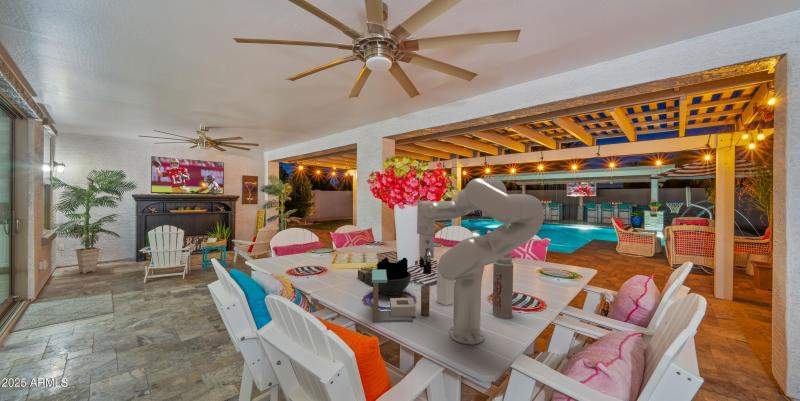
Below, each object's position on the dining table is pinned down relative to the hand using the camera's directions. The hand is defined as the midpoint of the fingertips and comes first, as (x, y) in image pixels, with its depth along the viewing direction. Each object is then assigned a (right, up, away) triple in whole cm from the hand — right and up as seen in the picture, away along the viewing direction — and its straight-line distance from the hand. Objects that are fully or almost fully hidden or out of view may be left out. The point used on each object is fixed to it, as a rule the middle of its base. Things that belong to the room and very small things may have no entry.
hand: (425, 270), depth 124 cm
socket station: (-14, -19, +1) cm, 23 cm away
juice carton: (-27, -18, +46) cm, 56 cm away
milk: (+11, -19, +14) cm, 26 cm away
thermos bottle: (+33, -19, +1) cm, 38 cm away
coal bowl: (-15, -18, +25) cm, 35 cm away
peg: (0, -19, 0) cm, 19 cm away
